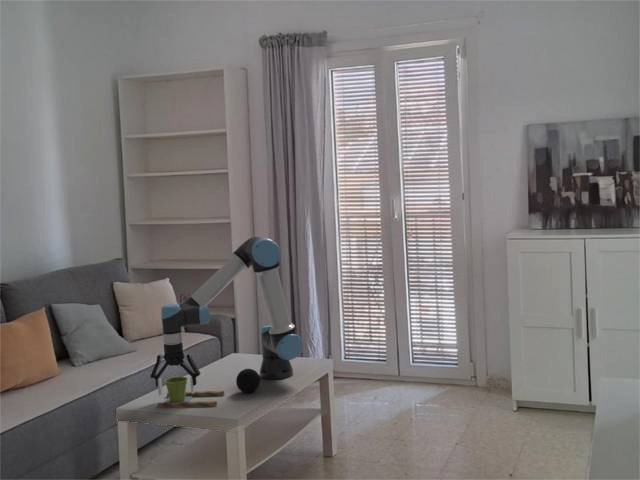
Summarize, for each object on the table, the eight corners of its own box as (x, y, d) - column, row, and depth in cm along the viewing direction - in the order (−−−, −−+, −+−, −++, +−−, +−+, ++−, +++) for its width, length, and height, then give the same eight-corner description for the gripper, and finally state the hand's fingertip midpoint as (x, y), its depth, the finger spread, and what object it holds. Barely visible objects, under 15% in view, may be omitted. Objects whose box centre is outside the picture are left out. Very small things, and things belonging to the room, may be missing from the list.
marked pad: (192, 397, 306) (192, 396, 306) (185, 404, 296) (185, 403, 296) (168, 397, 307) (168, 397, 307) (161, 405, 297) (161, 404, 297)
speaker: (265, 390, 311) (264, 367, 310) (251, 397, 302) (249, 373, 301) (246, 387, 316) (245, 365, 315) (232, 394, 308) (230, 370, 307)
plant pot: (161, 401, 302) (159, 380, 301) (180, 395, 308) (179, 375, 307) (174, 405, 295) (172, 384, 294) (193, 399, 302) (192, 378, 301)
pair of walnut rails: (224, 394, 308) (224, 390, 308) (215, 406, 292) (215, 402, 292) (168, 395, 310) (168, 392, 310) (157, 407, 294) (156, 404, 294)
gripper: (205, 339, 302) (208, 389, 304) (146, 341, 304) (150, 391, 306) (200, 343, 295) (204, 395, 297) (140, 346, 297) (144, 397, 299)
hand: (176, 393), depth 301 cm, fingers open, 13 cm apart
